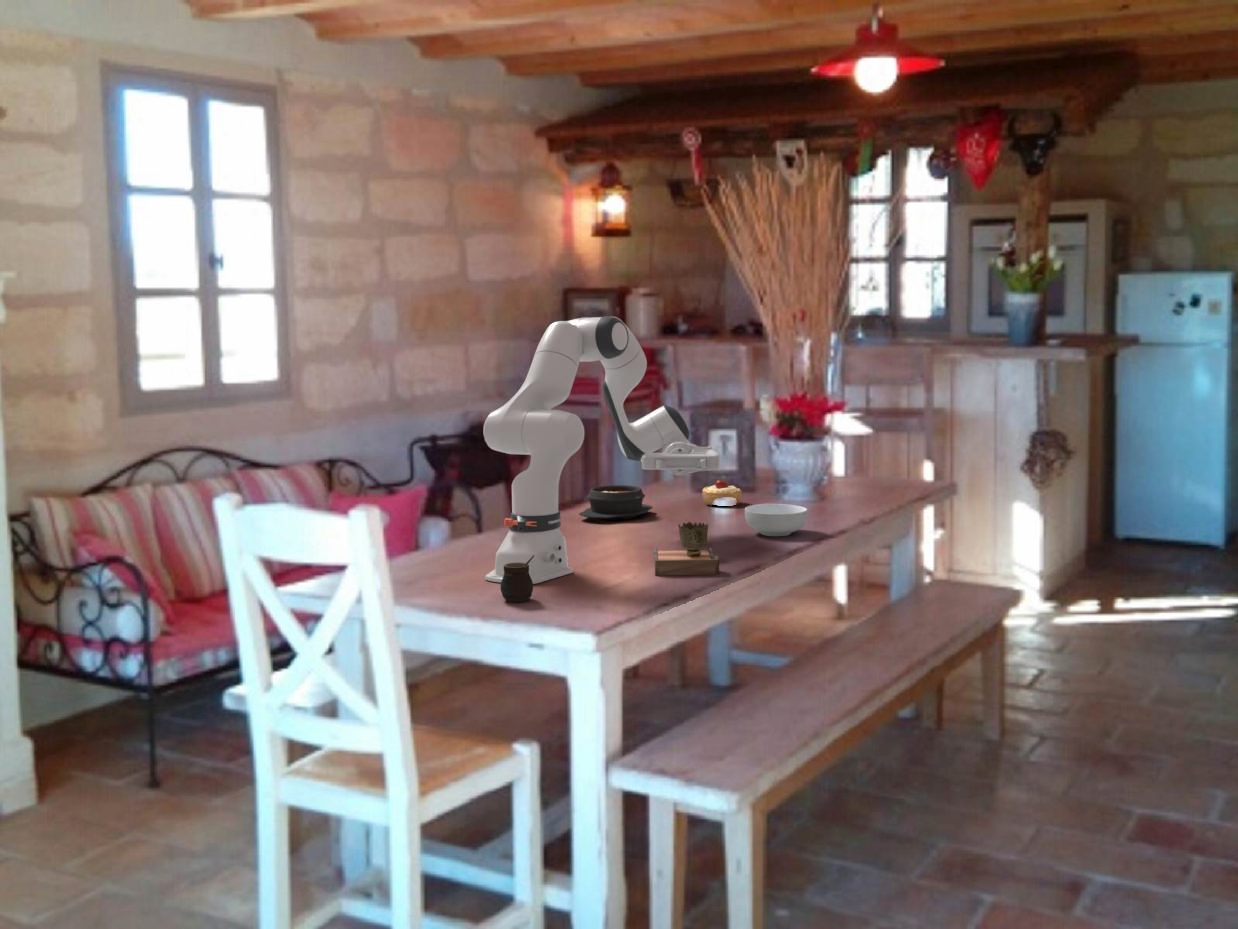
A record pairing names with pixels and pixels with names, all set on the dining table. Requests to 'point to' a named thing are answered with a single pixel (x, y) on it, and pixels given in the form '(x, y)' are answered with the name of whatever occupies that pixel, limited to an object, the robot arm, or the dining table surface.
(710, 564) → the brown wooden tray
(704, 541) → the cup
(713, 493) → the pastry
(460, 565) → the dining table surface
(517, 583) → the mate gourd
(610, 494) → the casserole
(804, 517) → the cereal bowl
